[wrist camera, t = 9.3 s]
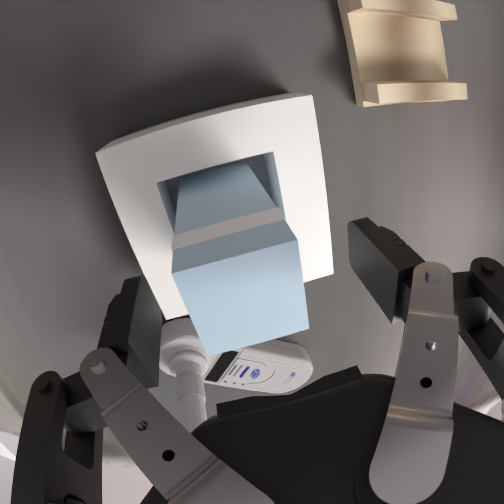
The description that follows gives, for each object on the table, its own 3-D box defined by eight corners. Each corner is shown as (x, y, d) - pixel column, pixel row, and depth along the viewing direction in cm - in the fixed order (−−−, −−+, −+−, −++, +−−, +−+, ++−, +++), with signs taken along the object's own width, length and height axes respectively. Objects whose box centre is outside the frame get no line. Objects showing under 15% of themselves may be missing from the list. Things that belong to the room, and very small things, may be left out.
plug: (246, 160, 18) (298, 237, 10) (259, 220, 20) (310, 329, 12) (178, 178, 18) (169, 273, 9) (197, 237, 20) (207, 357, 12)
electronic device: (314, 454, 23) (147, 447, 17) (285, 376, 32) (147, 348, 26) (353, 425, 22) (169, 413, 16) (314, 344, 30) (166, 305, 24)
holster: (427, 3, 14) (453, -1, 12) (441, 99, 19) (467, 105, 16) (335, -6, 14) (357, -17, 12) (356, 105, 18) (380, 110, 16)
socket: (288, 92, 17) (312, 94, 14) (312, 243, 23) (333, 273, 20) (113, 139, 17) (95, 153, 13) (168, 283, 23) (166, 319, 19)
